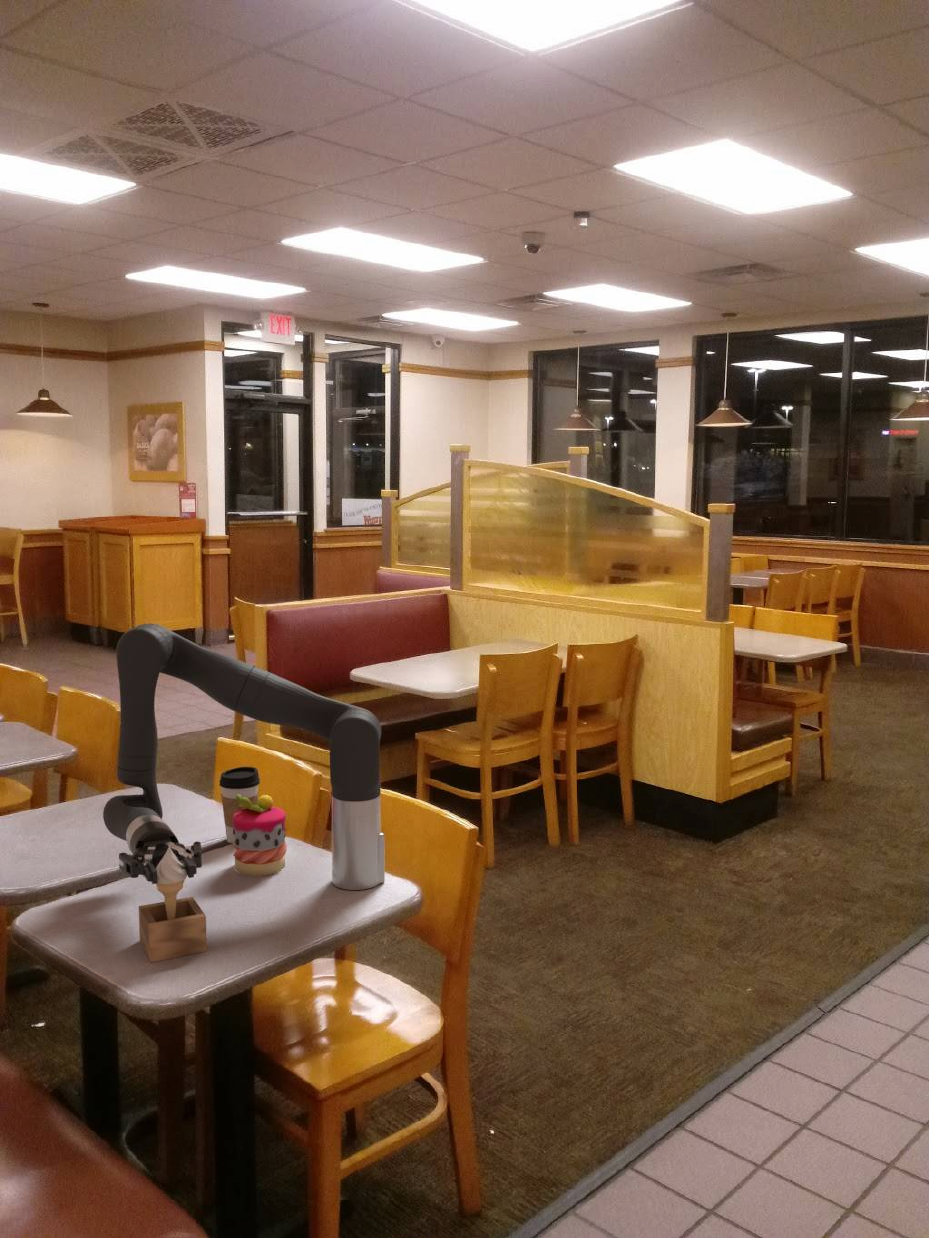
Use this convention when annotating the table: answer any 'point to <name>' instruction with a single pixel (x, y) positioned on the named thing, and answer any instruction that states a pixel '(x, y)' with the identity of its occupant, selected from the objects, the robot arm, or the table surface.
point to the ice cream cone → (170, 880)
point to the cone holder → (172, 930)
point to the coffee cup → (237, 793)
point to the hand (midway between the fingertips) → (173, 874)
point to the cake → (259, 837)
